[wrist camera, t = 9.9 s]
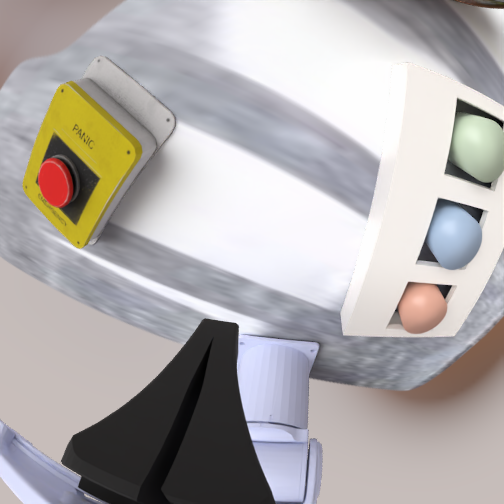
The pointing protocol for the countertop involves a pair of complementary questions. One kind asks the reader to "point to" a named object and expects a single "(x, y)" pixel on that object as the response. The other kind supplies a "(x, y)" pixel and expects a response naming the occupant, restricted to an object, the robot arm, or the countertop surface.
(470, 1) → the tin
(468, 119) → the sage green button
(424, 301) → the terracotta button
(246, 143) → the countertop surface
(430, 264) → the button panel
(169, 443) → the robot arm
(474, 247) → the slate blue button
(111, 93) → the emergency button
